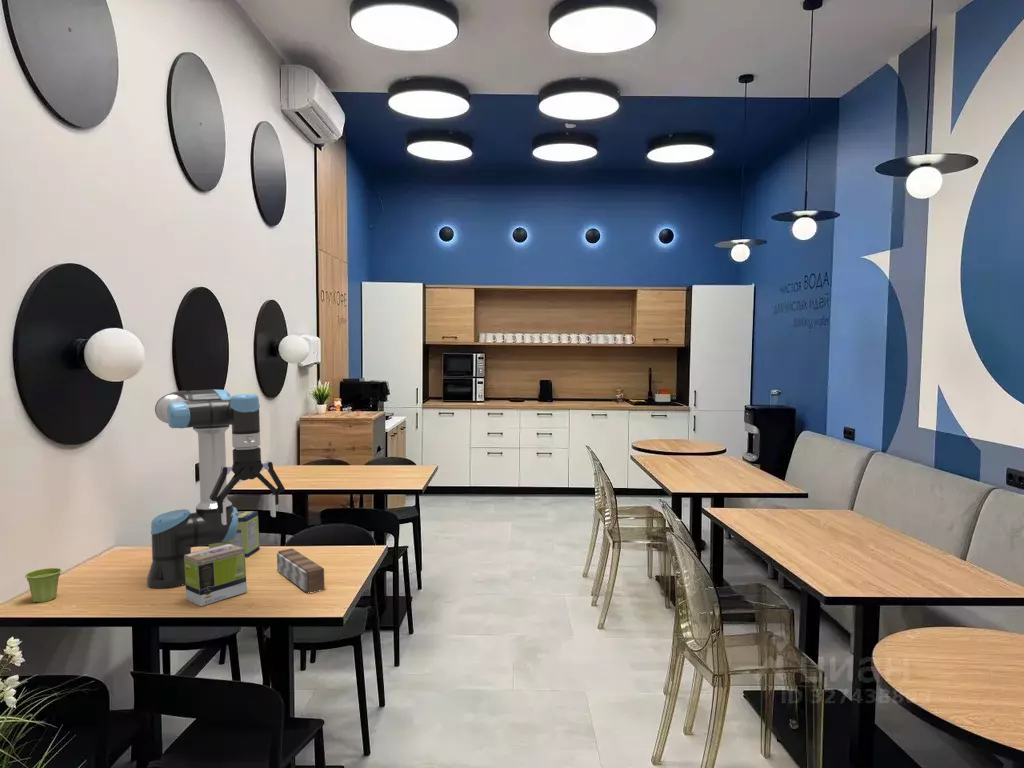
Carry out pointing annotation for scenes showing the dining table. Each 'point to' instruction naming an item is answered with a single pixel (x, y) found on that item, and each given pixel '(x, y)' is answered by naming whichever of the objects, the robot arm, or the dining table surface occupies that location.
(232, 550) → the tea box
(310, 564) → the bar
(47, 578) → the plant pot
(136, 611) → the dining table surface
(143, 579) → the dining table surface
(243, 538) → the protein box
